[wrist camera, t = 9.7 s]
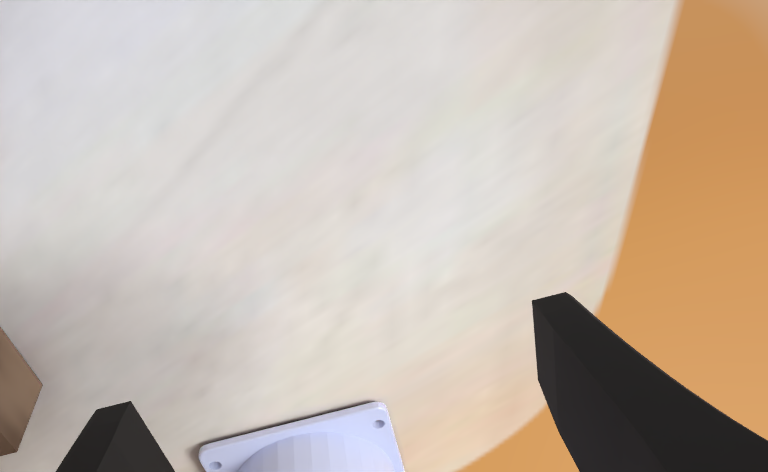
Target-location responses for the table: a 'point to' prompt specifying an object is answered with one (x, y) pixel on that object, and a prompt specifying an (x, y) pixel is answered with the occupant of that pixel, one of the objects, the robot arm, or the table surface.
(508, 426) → the table surface
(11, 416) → the walnut plinth
